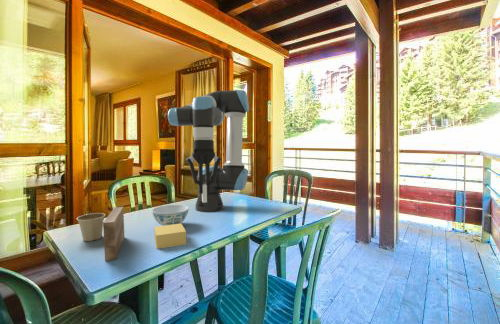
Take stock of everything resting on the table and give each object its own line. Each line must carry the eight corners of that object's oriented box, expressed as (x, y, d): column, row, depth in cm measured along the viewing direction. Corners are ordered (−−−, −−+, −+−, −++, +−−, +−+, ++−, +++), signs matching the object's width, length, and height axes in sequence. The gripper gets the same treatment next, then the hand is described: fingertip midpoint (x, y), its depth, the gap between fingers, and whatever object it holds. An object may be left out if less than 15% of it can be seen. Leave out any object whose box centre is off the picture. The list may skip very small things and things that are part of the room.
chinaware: (185, 231, 107) (185, 213, 106) (148, 232, 106) (147, 214, 105) (191, 220, 122) (190, 204, 121) (158, 221, 121) (157, 205, 120)
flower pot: (75, 244, 94) (73, 221, 93) (80, 236, 102) (79, 214, 101) (105, 240, 97) (104, 218, 97) (107, 232, 106) (106, 211, 105)
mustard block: (181, 235, 103) (181, 223, 103) (186, 244, 94) (185, 231, 93) (154, 239, 99) (154, 226, 99) (156, 249, 90) (156, 235, 89)
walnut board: (124, 237, 101) (123, 206, 100) (115, 259, 82) (114, 221, 81) (115, 238, 100) (114, 207, 99) (105, 260, 81) (103, 222, 80)
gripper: (218, 139, 103) (219, 198, 105) (184, 139, 99) (185, 200, 101) (222, 139, 96) (223, 202, 98) (186, 139, 92) (187, 205, 93)
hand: (204, 201), depth 99 cm, fingers closed
